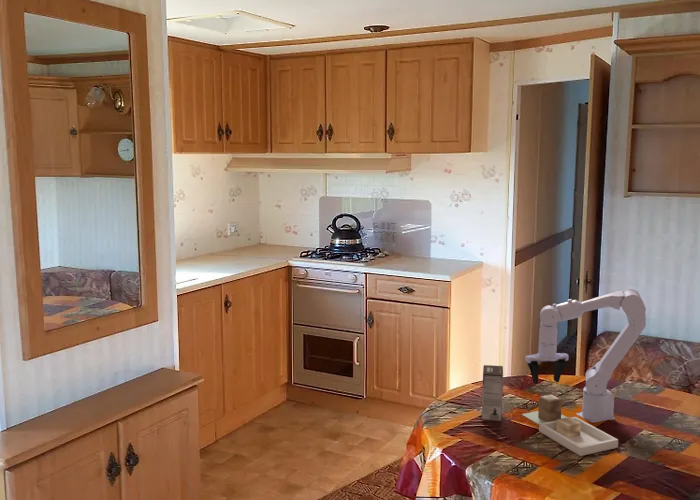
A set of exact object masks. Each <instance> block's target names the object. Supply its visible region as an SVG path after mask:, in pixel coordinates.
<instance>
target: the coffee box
mask: <svg viewBox="0 0 700 500" xmlns="http://www.w3.org/2000/svg"><path fill="white" fill-rule="evenodd" d="M482 369H483V370H482V372H483V373H482V389H481V390H482V391H481V392H482V396H481V402H482V403H481V420H488V421H500V422H501V421H502V416H503V415H502V413H503V411H502V410H503V391H504V390H503V389H504V387H503V386H504V366H503V365H490V364H489V365H488V364H484V365H483V368H482Z"/></svg>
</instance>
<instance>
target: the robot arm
mask: <svg viewBox="0 0 700 500" xmlns="http://www.w3.org/2000/svg"><path fill="white" fill-rule="evenodd" d="M608 307H609V308H612V309H614V310H617V311H620V310H621V309H622V311H623V312H624V313H625V315H626V319H627V323H626V324H625V325H624V327H623V328H622V330H621V331H620V333H619V334H618V336H616V338H615V339H614V341H613V342H612V343H611V345H610V346H609V347H608V349H607V350H606V352H605V353H604V354H603V356H602V357H601V358H600V360H599V361H597V362H596V363H595V364H594V365H593V366H592V367H591V368H589V369H587V370H586V372H585V373H584V379H585V386H584V387H583V392H582V406H581V407H582V408H581V411H580V412H576V415H577V416H579V417H581V418H583V419H584V420H587V421H589V422H590V423H593V424H594V423H598V422H603V421H609V420H611V421H612V420H615V419H616V417H614V411H615V410H614V408H615V399H614V398H615V397H614V394H613V393H612V391H610V390H609V389H607V387H608V382H609V381H610V380H611V377H612V374H613V372H614V371H615V369H617V367H618V365H619V364H620V362H622V359H624V357H625V356H626V354H627V353H628V351H629V350H630V348H631V347H632V346H633V344H634V343H635V342H636V341H637V339H638V338H639V336H640V335H641V334H642V332H643V331H644V329H645V328H646V325H647V324H646V323H647V322H646V312H647V311H646V310H647V309H646V306H645V303H644V300H643V299H642V298H641V295H640V293H639V292H638V291H637V290H635V289H633V288H632V289H631V288H628V289H624V290H617V291H614V292H611V293H607V294H604V295H600V296H597V297H592V298H591V299H588V300H584V301H579V300H578V299H572V298H569V299H567V301H564V302H561V303H558V304H556V303H552V305H549V304H547V305H545V306H543V307H542V308H541V310H540V312H539V319H540V322H539V326H540V327H539V334H538V352H537V353H534V354H529V355H525V358H524V359H525V362H526V364H527V366H528V368H529V371H530V374H531V375H530V376H531V379H532V383H534V384H535V385H537V384H538V383H539V373H540V369H541V365H540V364H539V363H540V362H552V363H553V381H554V382H556V383H559V382H560V379H561V376H562V374H563V373H564V370H565V369H566V367H567V366H568V362H567V361H569V358H570V357H569V354H568V353H565V352H557V347H558V332H559V330H558V322H565V321H568V320H569V321H570V320H574V319H578V318H581V317H582V316H583V314H584V313H585V312H589V311H595V310H599V309H604V308H608Z"/></svg>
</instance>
